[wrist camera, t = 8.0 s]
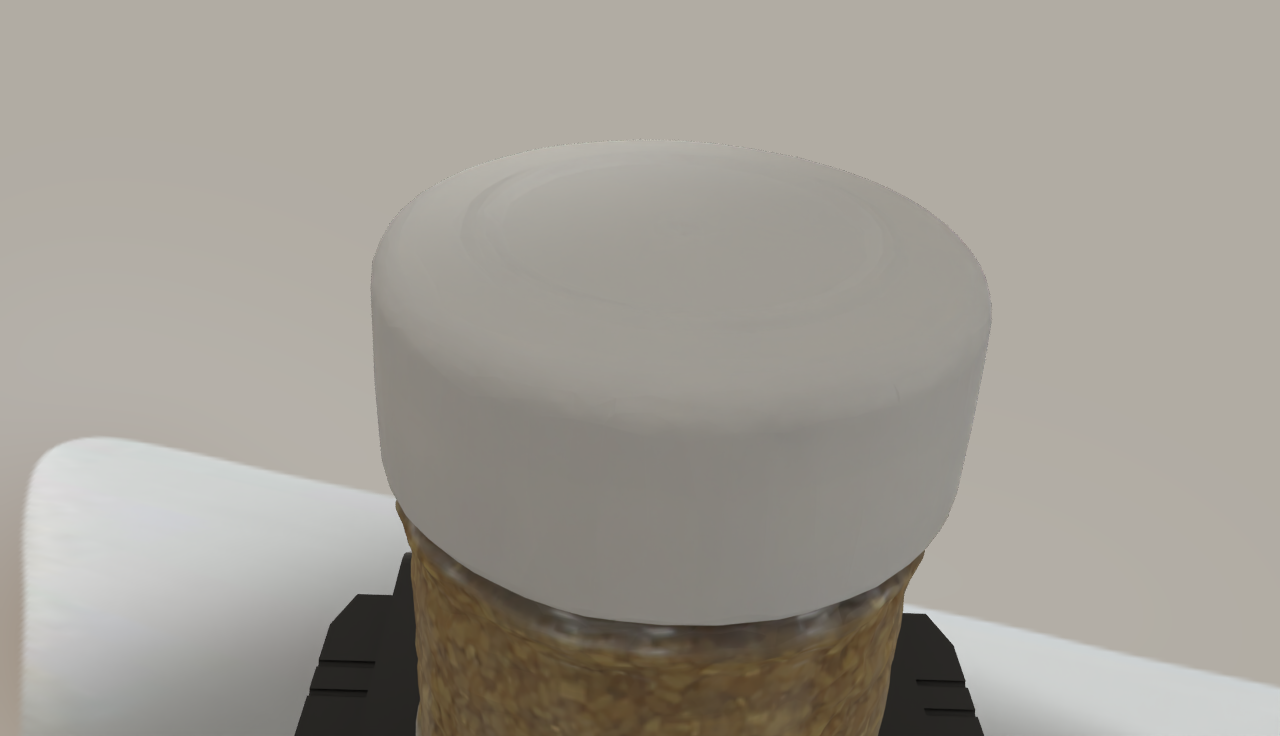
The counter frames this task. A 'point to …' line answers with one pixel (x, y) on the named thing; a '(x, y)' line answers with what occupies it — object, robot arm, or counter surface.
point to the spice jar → (668, 436)
